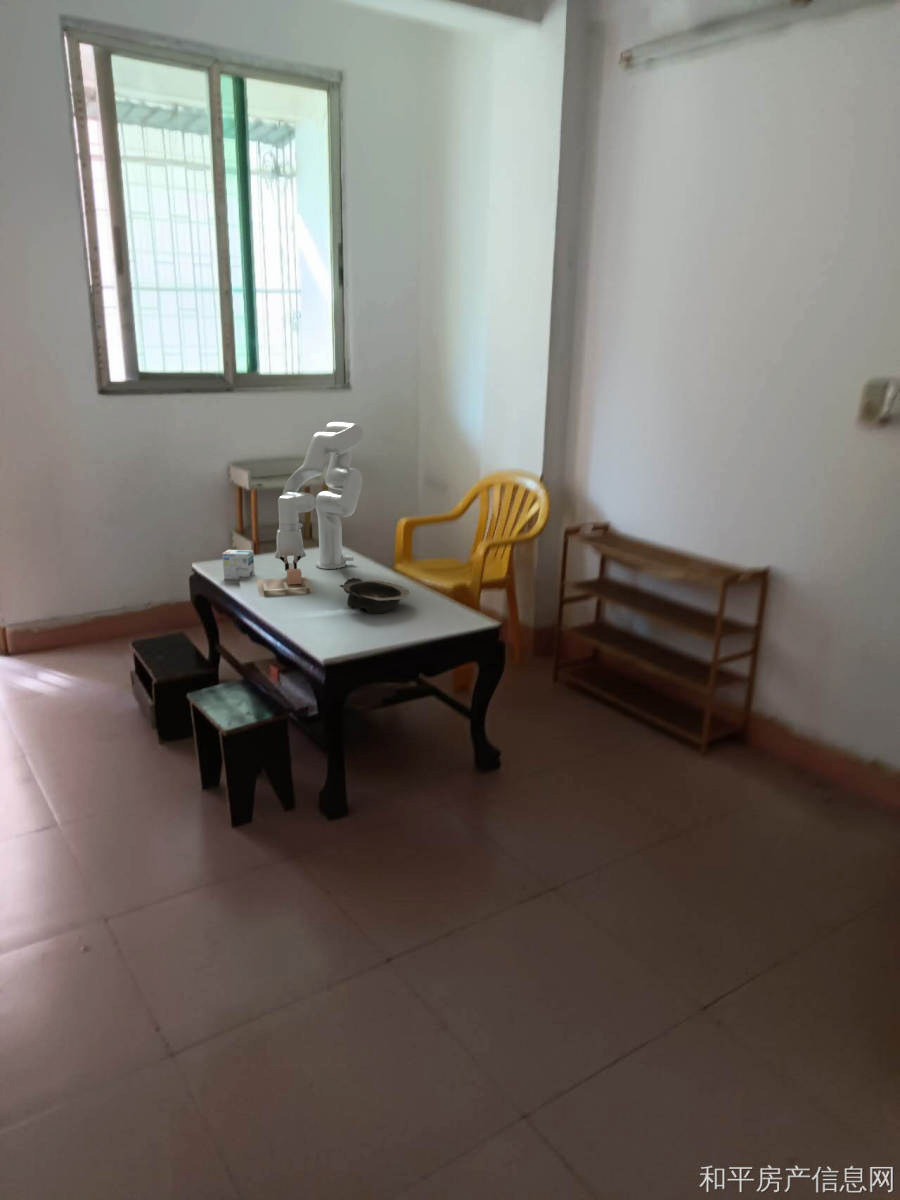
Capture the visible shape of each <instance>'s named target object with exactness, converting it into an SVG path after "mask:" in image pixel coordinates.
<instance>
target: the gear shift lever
mask: <svg viewBox="0 0 900 1200" xmlns="http://www.w3.org/2000/svg"><path fill="white" fill-rule="evenodd" d="M288 563H289V569H287V571H286V578H287V583H288V584H289V585H291V584H302V577H303V576H302V570H301V569H300V568H297V569H294V564H293V562H292V563H291V562H288Z"/></svg>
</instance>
